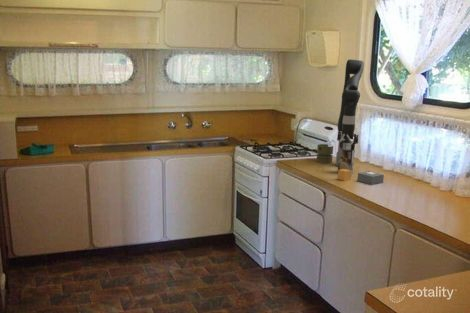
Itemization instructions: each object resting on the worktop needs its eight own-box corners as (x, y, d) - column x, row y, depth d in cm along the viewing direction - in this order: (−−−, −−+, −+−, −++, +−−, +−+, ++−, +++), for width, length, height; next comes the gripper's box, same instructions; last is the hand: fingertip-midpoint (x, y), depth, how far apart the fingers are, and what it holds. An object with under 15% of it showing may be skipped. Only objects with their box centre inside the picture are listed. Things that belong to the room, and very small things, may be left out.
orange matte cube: (337, 179, 302) (338, 169, 301) (343, 178, 306) (344, 168, 304) (344, 181, 298) (345, 171, 297) (350, 180, 301) (351, 170, 300)
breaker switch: (365, 177, 298) (365, 172, 298) (369, 176, 301) (370, 171, 300) (371, 178, 295) (371, 174, 294) (375, 178, 297) (376, 173, 297)
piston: (326, 143, 359) (336, 146, 349) (325, 159, 361) (335, 162, 352) (314, 144, 353) (324, 147, 344) (313, 160, 356) (323, 163, 346)
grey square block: (357, 180, 299) (358, 172, 298) (368, 178, 306) (369, 170, 305) (371, 184, 291) (372, 175, 290) (383, 182, 297) (384, 173, 296)
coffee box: (353, 173, 319) (355, 149, 316) (350, 175, 314) (352, 150, 311) (339, 171, 323) (341, 147, 320) (337, 173, 318) (338, 149, 315)
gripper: (362, 124, 291) (359, 150, 295) (343, 121, 302) (341, 146, 306) (354, 124, 287) (351, 151, 290) (335, 121, 298) (333, 147, 301)
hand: (346, 149), depth 298 cm, fingers open, 8 cm apart
